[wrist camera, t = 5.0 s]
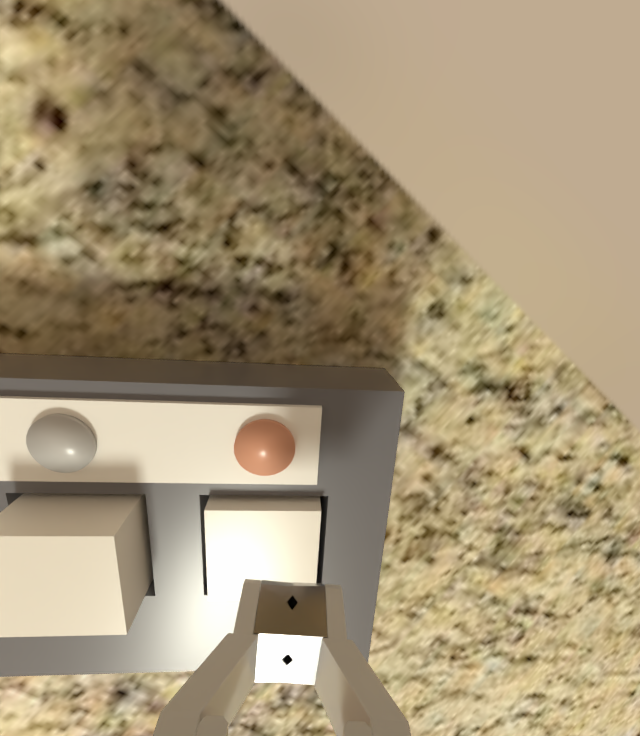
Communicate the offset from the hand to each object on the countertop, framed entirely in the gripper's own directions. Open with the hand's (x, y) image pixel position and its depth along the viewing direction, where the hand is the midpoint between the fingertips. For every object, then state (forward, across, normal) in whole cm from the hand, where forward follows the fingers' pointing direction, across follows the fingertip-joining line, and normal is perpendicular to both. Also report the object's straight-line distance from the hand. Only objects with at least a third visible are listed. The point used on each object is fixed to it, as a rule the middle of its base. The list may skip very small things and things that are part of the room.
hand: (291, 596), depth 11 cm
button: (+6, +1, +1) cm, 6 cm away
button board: (+6, +8, +2) cm, 10 cm away
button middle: (+4, +8, +2) cm, 9 cm away
